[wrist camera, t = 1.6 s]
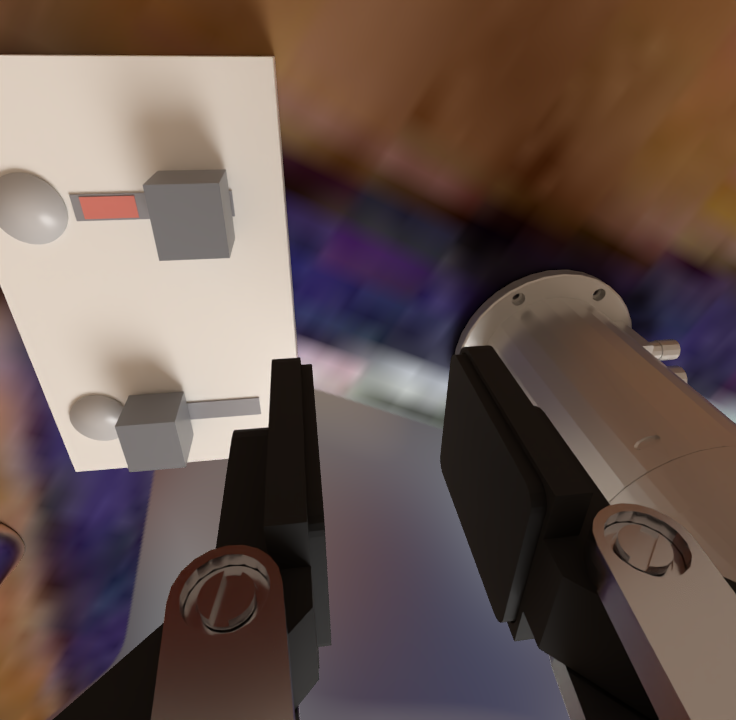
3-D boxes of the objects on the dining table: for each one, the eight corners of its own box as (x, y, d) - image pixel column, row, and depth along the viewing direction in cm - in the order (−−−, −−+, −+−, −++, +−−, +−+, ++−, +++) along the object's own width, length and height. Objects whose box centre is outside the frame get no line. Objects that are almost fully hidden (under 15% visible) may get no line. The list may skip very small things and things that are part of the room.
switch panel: (274, 56, 25) (272, 57, 21) (302, 414, 36) (304, 453, 33) (-38, 54, 23) (-97, 54, 19) (96, 430, 34) (74, 474, 31)
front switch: (226, 169, 23) (219, 183, 21) (235, 238, 25) (229, 258, 22) (157, 170, 23) (142, 184, 20) (171, 240, 24) (159, 261, 22)
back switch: (184, 391, 29) (174, 421, 26) (193, 434, 30) (185, 467, 28) (129, 395, 28) (114, 426, 26) (142, 438, 30) (129, 472, 28)
